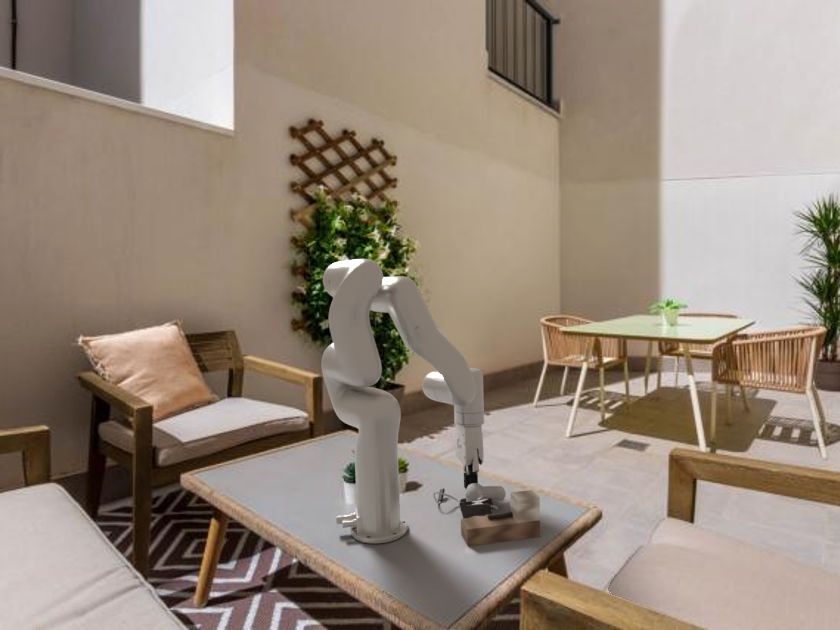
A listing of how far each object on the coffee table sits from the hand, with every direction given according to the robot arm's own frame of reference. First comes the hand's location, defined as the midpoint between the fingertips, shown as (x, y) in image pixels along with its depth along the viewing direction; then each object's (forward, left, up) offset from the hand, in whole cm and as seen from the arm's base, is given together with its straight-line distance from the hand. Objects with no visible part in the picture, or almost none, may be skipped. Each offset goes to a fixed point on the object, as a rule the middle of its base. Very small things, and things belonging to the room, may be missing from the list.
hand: (471, 488), depth 131 cm
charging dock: (0, -21, -2) cm, 22 cm away
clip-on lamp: (-3, -6, -2) cm, 8 cm away
